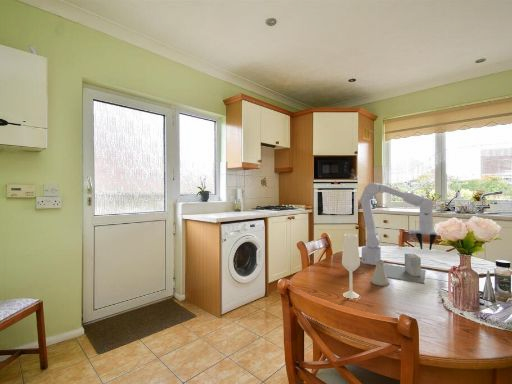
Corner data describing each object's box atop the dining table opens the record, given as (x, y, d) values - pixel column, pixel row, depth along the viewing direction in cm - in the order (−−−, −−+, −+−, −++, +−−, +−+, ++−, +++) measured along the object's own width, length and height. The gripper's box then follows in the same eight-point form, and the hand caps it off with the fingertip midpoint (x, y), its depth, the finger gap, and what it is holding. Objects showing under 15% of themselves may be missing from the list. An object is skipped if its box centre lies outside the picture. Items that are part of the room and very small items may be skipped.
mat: (378, 276, 123) (378, 275, 123) (385, 264, 139) (385, 264, 139) (423, 283, 113) (424, 282, 113) (425, 270, 129) (425, 269, 129)
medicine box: (421, 276, 120) (421, 257, 120) (410, 276, 121) (410, 257, 121) (414, 270, 128) (414, 253, 128) (404, 270, 129) (404, 253, 129)
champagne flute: (345, 290, 107) (345, 232, 106) (362, 295, 103) (362, 234, 102) (339, 296, 102) (338, 235, 101) (356, 301, 97) (356, 237, 97)
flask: (381, 287, 110) (381, 264, 109) (367, 282, 116) (367, 259, 116) (392, 284, 113) (392, 261, 113) (378, 279, 119) (378, 257, 119)
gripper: (408, 222, 131) (408, 248, 131) (443, 224, 123) (443, 252, 123) (409, 220, 137) (409, 246, 137) (443, 222, 128) (443, 249, 129)
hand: (425, 249), depth 130 cm, fingers open, 3 cm apart
